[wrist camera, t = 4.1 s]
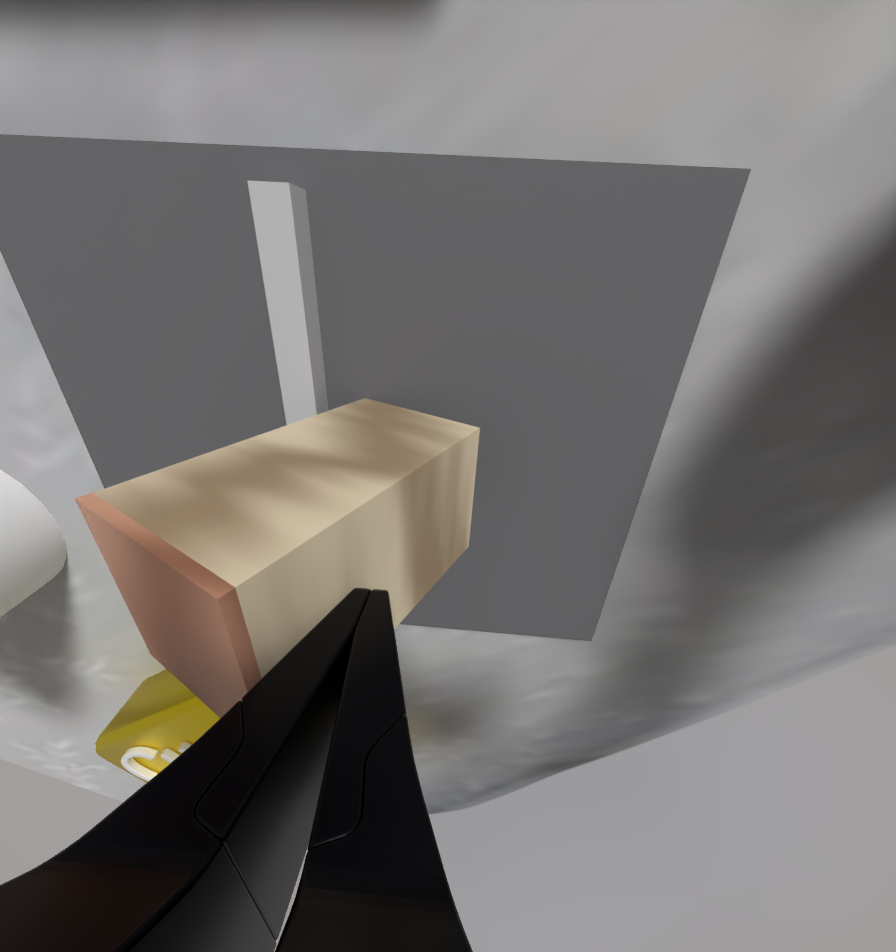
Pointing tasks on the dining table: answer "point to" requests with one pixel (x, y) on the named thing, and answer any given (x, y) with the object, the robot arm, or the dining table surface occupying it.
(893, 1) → the dining table surface
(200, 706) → the element tile
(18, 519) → the cylinder with rectangular tab
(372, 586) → the beech block
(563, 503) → the mat
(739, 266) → the dining table surface
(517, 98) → the dining table surface
